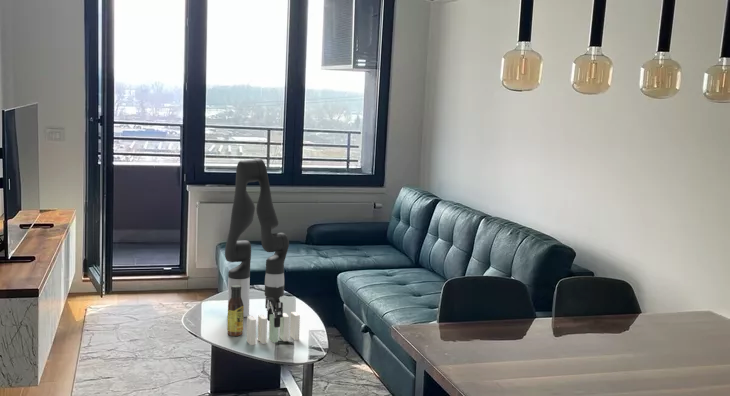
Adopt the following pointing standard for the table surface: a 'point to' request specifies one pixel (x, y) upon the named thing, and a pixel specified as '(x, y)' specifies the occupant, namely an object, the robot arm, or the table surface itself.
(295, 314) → the domino
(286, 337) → the domino
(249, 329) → the domino
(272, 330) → the domino
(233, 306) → the sauce bottle
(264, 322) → the domino
